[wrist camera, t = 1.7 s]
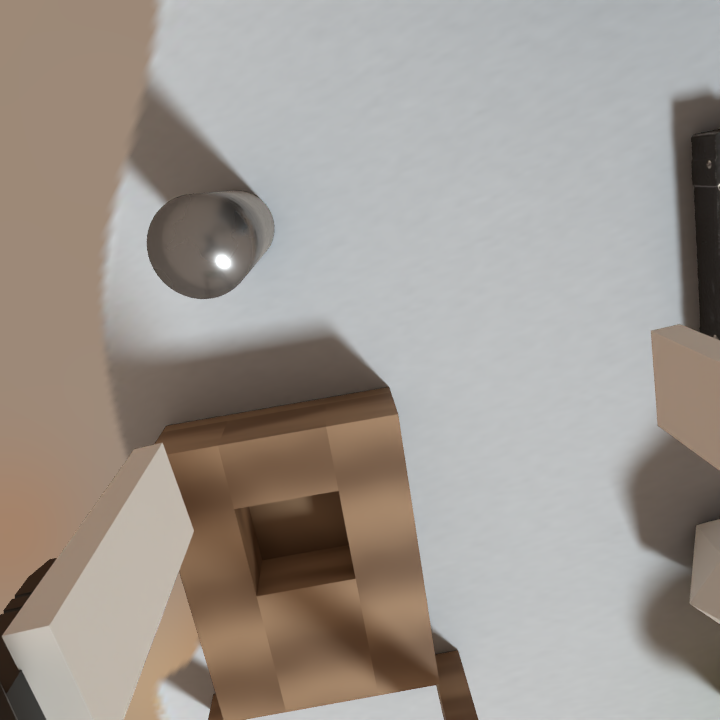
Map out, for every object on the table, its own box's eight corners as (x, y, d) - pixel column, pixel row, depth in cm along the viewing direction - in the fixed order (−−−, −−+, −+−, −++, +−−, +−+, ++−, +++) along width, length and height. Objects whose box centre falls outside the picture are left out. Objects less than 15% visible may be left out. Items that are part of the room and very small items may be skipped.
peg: (195, 197, 32) (134, 203, 22) (266, 185, 33) (239, 185, 22) (212, 268, 34) (162, 306, 23) (280, 256, 34) (262, 289, 23)
